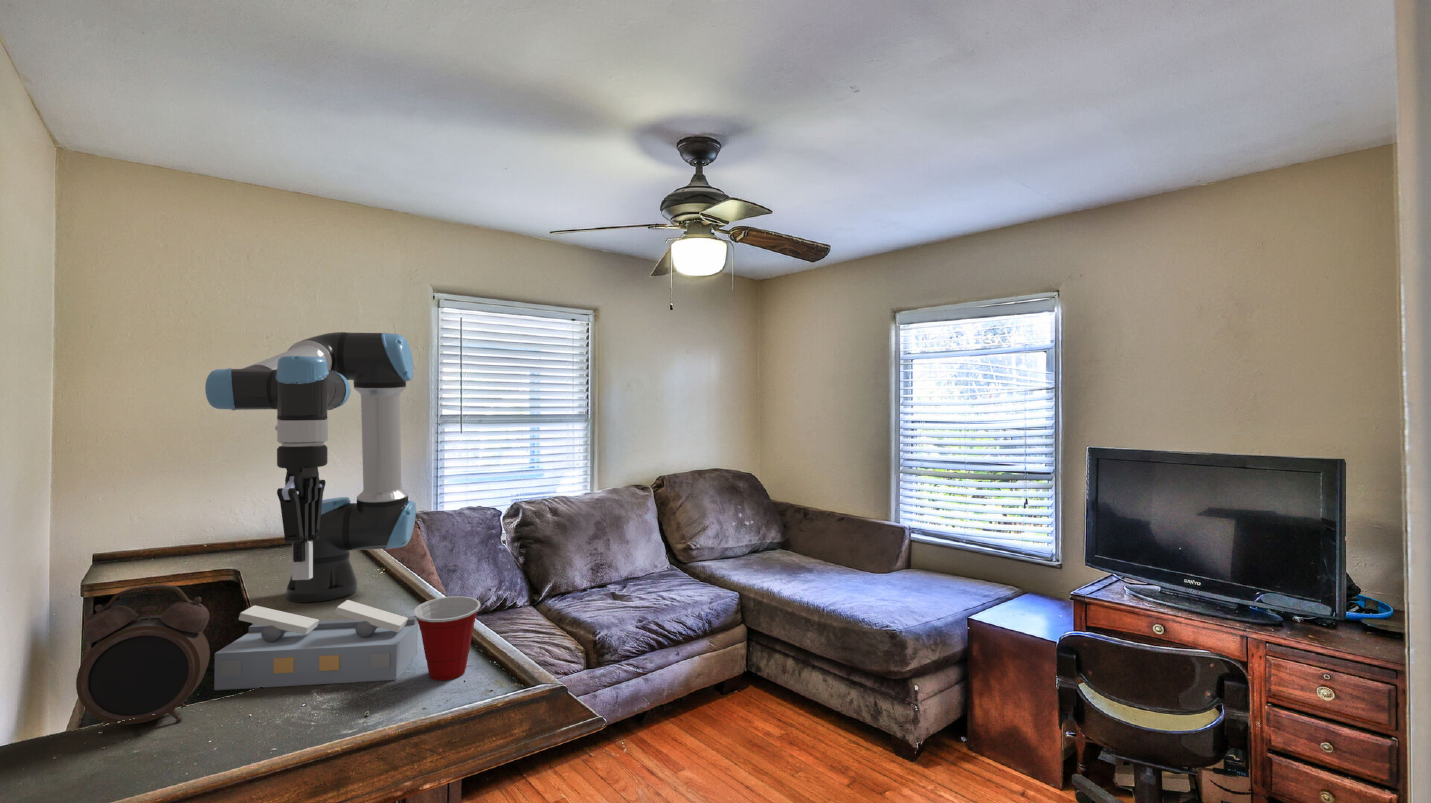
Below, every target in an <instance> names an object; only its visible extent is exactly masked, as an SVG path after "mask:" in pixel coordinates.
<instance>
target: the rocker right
mask: <svg viewBox="0 0 1431 803" xmlns="http://www.w3.org/2000/svg"><path fill="white" fill-rule="evenodd" d="M334 615H338V616H341V617H344V618H346V619H354V620H357V621H361V622H360V623H358V624H357V626H356V629H355V630H356V633H357V635H358V636H360V637H367V636H369V635H370V634H371V633H372V632H374V631H375V630H376V629H377V628H378V627H381V628H384V629H388V630H391V631H394V632H399V631H400V630H401V629H402V628H403V627H404V626H405V625H406V622H407V620H408V618H407V617H408V616H403V615H399V614H396V613H392V612H389V611H387V610H383V609H380V608H376V607H373V606H370V605H366V604H363V603H361V602H360V603H359V602H356V601H352V600H349V599H346V600H345V601H344V602H342V603H340V604H339V605H338V606H336V609H335V611H334Z"/></svg>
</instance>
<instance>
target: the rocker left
mask: <svg viewBox="0 0 1431 803" xmlns="http://www.w3.org/2000/svg"><path fill="white" fill-rule="evenodd" d="M238 621H241V622H242V621H243V622H246V623H251V624H259V625H264V626H266V627H265V628H264V629H263V630H262V632H261V636H262V638H263V640H265V641H267V642H272V641H275V640H276V639H278V638H279V637H281V636H282V635H284V634H285V633H286V632H288V631H291V632H295V633H300V634H304V635H306V634H307V633H309V632H310V631H311V630H313V629H314V628H315V627H317V625H318V622H319V621H320V619H317V618H313V617H308V616H305V615H301V614H299V615H298V614H295V613H290V612H287V611H281V610H277V609H273V608H270V607H269V608H268V607H264V606H260V605H256V604H255V605H252V606H250V607H249V608H246V609H245V610H243V611H241V612H240V613H239V617H238Z"/></svg>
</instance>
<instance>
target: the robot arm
mask: <svg viewBox="0 0 1431 803" xmlns="http://www.w3.org/2000/svg"><path fill="white" fill-rule="evenodd" d="M410 347H411V346H410V344H409V342H408V340H407V339H406V338H405V337H404V336H403V335H401V334H399V333H398V334H397V333H387V332H345V331H343V332H342V331H341V332H340V331H338V332H335V331H334V332H330V333H329V332H328V333H324V334H319V335H315V336H312V337H308V338H306V339H302V340H300V341H297V342H295V343H293V344H292V345H291V346H290V347H289V348H288V349H287V351H283V352H281V353H279V354H276V355H274V356H272V357H270V358H266V359H264V360H262V361H259V362H257V363H254V364H251V365H249V366H246V367H243V368H232V367H228V368H218V369H214V370H212V371H210V372H209V374H208V376H206V380H205V385H204V387H205V388H204V389H205V390H204V391H205V396H206V400H207V402H208V404H209V406H211V407H212V408H214V409H217V410H232V411H236V410H237V411H238V410H243V411H245V410H257V411H258V410H276V420H277V424H276V425H275V427H274V429H275V430H276V432H277V434H276V436H277V437H276V438H277V439H276V441H277V442H278V444H281V445H279V446H277V448H276V466H277V467H278V468H279V469H286V472H285V473H286V474H285V479H284V481H285V483H284V484H285V485H284V487H283V488H282V487H279V488H277V491H276V494H277V497H278V500H279V505H280V513H281V520H282V528H283V535H284V542H285V544H291V549H292V550H291V555H292V556H291V557H292V558H291V562H292V563H291V575H290V579H289V581H288V584H287V587H286V589H285V590H286V591H285V599H286V600H287V601H289V602H292V603H293V602H294V603H316V602H324V601H325V602H326V601H329V600H330V601H331V600H336V599H341V598H343V597H347V596H350V595H352V594H354V593H356V592H357V591H358V580H357V577H356V574H355V571H354V569H353V566H352V564H351V559H350V551H361V550H366V551H367V550H382V549H383V550H390V549H398V548H405V546H407V545H408V543H409V542H410V540H411V538H412V535H413V532H414V528H415V527H414V526H415V522H416V516H417V506H416V502H415V501H412V500H409V492H407V491H406V490H405V489H403V487H402V457H401V456H402V455H401V454H402V453H401V452H402V451H401V449H402V448H401V446H402V445H401V400H400V398H401V397H400V396H401V394H402V392H403V391H404V390H405V389H406V388H407V382H409V381H412V379H413V378H414V369H415V368H414V360H413V355H412V354H413V353H412V350H411V348H410ZM349 381H353V389H354V390H355V391H357V393H358V394H360V405H361V406H360V407H361V408H360V412H361V414H360V416H361V417H360V418H361V446H362V447H361V449H362V451H361V452H362V485H363V487H362V488H363V489H362V491H361V492H360V493H359V494H358V495H357V496H356V502H351V501H352V500H351V499H350V497H348V496H344V497H343V496H342V497H332V498H326V499H324V498H323V497H324V491H325V488H326V480H325V479H320V472H319V469H318V468H320V467H325V466H327V464H328V446H327V445H326V444H325V442H327V441H329V438H328V437H329V432H328V431H329V430H328V429H329V427H328V426H329V425H328V424H329V421H328V420H329V419H328V411H332V410H334V409H337V408H340V407H342V406H343V405H345V403H347V402H348V400H349V398H350V396H351V391H352V390H351V385H350V382H349Z"/></svg>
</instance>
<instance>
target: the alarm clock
mask: <svg viewBox="0 0 1431 803" xmlns="http://www.w3.org/2000/svg"><path fill="white" fill-rule="evenodd" d="M153 590H155V591H157V590H159V591H160V590H163V591H172V592H174V593H176V595H177V596H178V597H179V598H180V599H181V600H180V601H177V602H174V603H173V604H171V605H170V606H168V608H166V609H165V610H164V612H163V613H161V614H151V612H155V611H156V610H157V606H156V605H150V606H144V607H142V608H141V612H142V613H147V615H145V616H144V615H143V616H141V617H139V614H138V613H137V612H136V611H135V610H134V609H132V608H131V607H130V606H126V605H115V606H113V605H114V604H115V602H116V601H117V600H118V598H119V597H121V596H124V595H128V594H130V593H135V592H136V593H137V592H142V591H143V592H144V591H153ZM201 602H202V597H201V596H197V597H196V598H194V600H191V599H189V597H188V596H187V594H185V592H184V591H183V589H181V588H180V587H178V586H176V585H169V584H151V585H141V586H135V587H131V588H128V589H125V590H124V589H123V590H120V591H119V592H118V593H115V594H114V595H113V596H112V597H111V598H110V600H109V602H108V603H107V604H106V605H105V607H104V606H103V605H101V604H97V605H94V610H95V612H96V613H94V614H92V615H91V616H90V617H88V621H87V622H86V624H85V626H84V635H85V639H86V640H87V641H88V643H89V644H93V643H95V642H96V643H95V645H94V646H92V648H91V649H90V651H88V653H87V654H86V656H85V657H84V659H83V660H82V662H81V663H80V666H79V667H78V671H77V674H76V679H75V686H76V693H77V698H78V699H79V701H80V703H81V704H82V706H83V707H84V708H85V709H86V710H87V712H89V713H90V714H91V715H93V716H95V717H96V718H98V719H99V720H102V721H104V722H103V724H102V726H101V728H102V729H101V728H100V729H99V730H97V733H98V732H104V733H105V731H106V729H107V728H108V727H109V726H110V725H105V724H107V723H110V724H118V725H119V724H120V725H135V724H141V723H147V722H150V721H153V720H156V719H158V718H159V719H160V718H161V717H163V716H165V715H167V714H168V715H170V716H171V717H172V718H174V719H175V722H176V723H180V722H181V723H182V721H183V718H182V717H180V716H179V713H178V712H177V710H176V708H178V707H179V706H180V708H181V709H182V708H183V707H186V708H187V707H188V706H187V704H185V703H184V702H185V701H186V700H187V699H188V698H189V697H190V696H191V695H192V694H193V693H194V692H195V690H196V689H197V688H198V687H199V685H200V684H201V683H202V680H203V679H204V677H205V674H206V671H207V669H208V667H209V663H210V658H211V657H210V655H211V652H210V644H209V641H208V639H207V637H206V635H205V634H204V631H205V629H206V628H207V625H208V622H209V620H210V617H211V616H210V611H209V609H207V607H206V606H204V604H202V603H201ZM152 714H155V715H152ZM133 718H135V719H133ZM129 719H131V720H129ZM122 720H125V721H122ZM118 721H121V722H120V723H117V722H118ZM103 725H105V726H103Z"/></svg>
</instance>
